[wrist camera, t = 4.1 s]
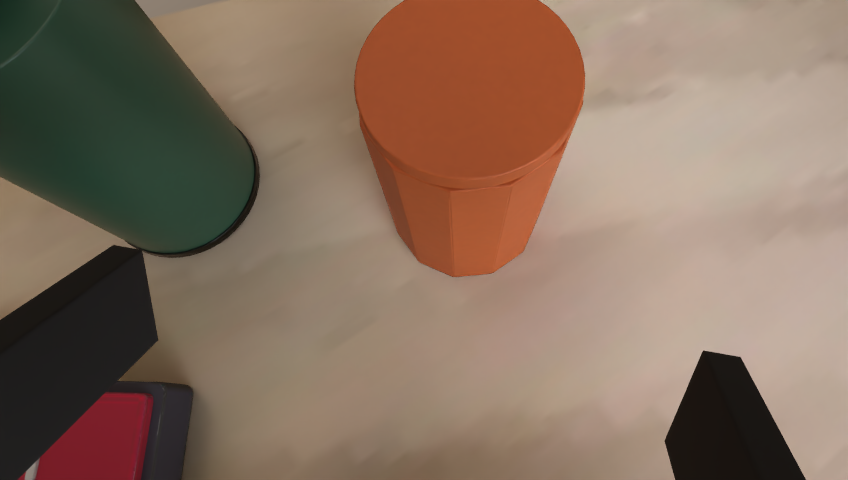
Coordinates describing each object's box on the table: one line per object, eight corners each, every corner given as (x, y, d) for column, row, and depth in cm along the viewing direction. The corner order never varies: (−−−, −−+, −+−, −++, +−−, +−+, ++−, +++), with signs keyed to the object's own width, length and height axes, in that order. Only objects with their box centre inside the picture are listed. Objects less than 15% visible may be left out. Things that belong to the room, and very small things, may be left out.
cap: (556, 175, 29) (618, 20, 17) (502, 298, 27) (533, 216, 16) (431, 127, 30) (413, -45, 19) (372, 242, 28) (313, 128, 17)
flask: (287, 148, 30) (64, -191, 13) (207, 283, 28) (-182, 85, 11) (164, 97, 32) (-177, -264, 15) (80, 221, 30) (-431, -35, 13)
